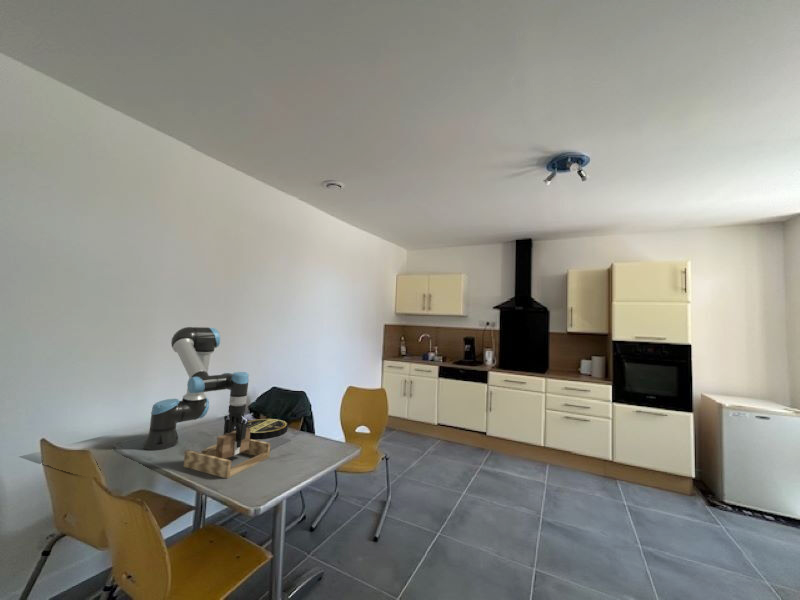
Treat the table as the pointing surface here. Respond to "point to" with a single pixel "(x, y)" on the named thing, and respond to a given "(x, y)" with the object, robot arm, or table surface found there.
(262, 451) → the rack
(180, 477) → the table surface
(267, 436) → the sign
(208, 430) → the table surface
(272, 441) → the mat
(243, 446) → the brown wooden block
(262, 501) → the table surface
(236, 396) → the robot arm
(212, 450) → the slab short
